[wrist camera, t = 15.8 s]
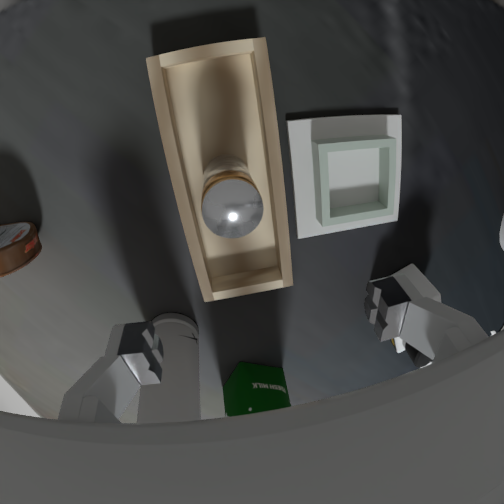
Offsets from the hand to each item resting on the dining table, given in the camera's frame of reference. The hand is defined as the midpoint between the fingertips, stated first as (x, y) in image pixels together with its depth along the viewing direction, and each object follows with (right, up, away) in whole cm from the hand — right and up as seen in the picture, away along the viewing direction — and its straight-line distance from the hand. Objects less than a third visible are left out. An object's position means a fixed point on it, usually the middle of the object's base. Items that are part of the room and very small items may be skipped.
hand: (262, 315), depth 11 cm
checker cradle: (+9, +10, +18) cm, 23 cm away
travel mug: (-10, -7, +25) cm, 28 cm away
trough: (-3, +10, +16) cm, 19 cm away
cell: (-3, +9, +16) cm, 18 cm away
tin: (-29, +5, +15) cm, 33 cm away
